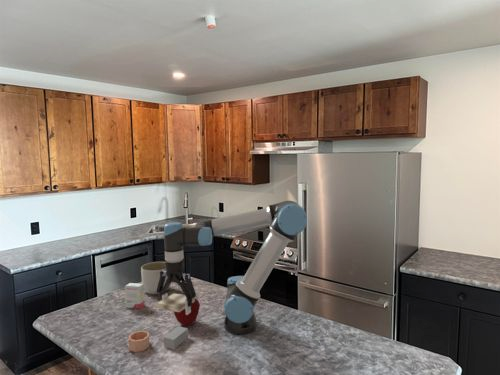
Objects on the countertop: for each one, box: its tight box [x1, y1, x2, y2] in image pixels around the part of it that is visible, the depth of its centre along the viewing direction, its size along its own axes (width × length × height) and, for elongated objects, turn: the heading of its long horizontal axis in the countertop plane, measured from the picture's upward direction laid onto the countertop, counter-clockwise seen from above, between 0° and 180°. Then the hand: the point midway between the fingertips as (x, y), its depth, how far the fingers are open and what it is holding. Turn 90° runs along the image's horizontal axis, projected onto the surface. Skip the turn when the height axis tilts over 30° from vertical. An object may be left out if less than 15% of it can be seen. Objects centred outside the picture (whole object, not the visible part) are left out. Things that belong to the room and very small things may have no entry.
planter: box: [140, 261, 172, 295], centre depth 197 cm, size 17×17×15 cm
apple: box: [173, 297, 201, 327], centre depth 158 cm, size 12×12×13 cm
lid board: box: [156, 292, 196, 312], centre depth 141 cm, size 11×11×2 cm
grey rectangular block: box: [163, 326, 189, 350], centre depth 142 cm, size 5×10×4 cm, turn 156°
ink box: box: [124, 282, 145, 310], centre depth 177 cm, size 9×5×12 cm, turn 80°
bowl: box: [128, 330, 151, 353], centre depth 139 cm, size 8×8×4 cm
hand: (176, 311), depth 141 cm, fingers closed on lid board, 11 cm apart
